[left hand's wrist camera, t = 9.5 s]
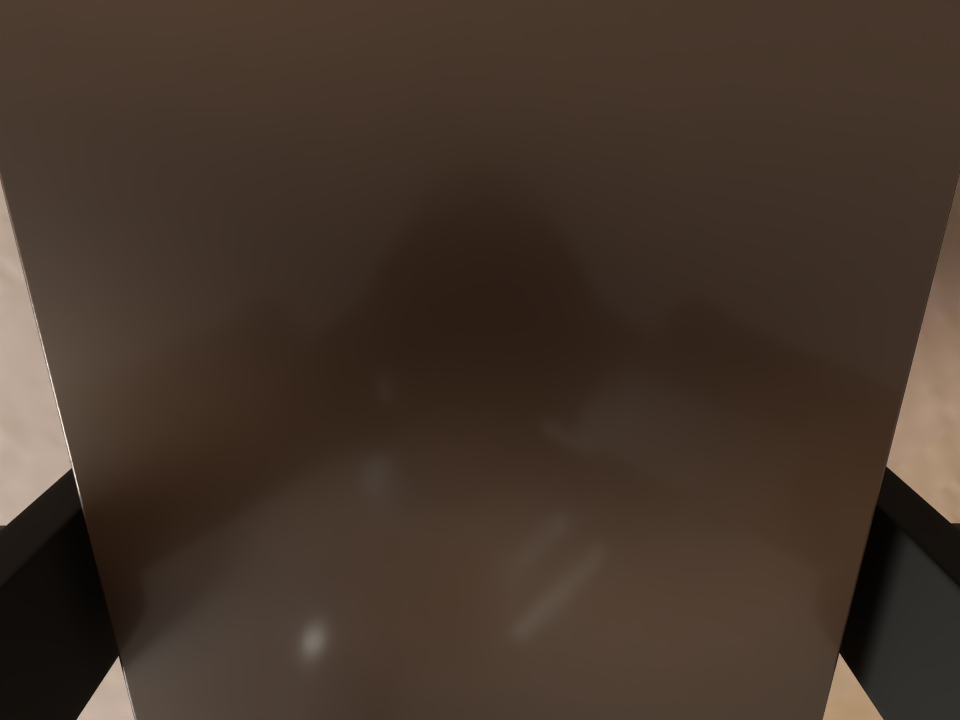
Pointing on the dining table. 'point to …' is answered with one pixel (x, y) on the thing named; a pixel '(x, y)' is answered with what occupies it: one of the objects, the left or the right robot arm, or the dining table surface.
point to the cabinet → (479, 338)
